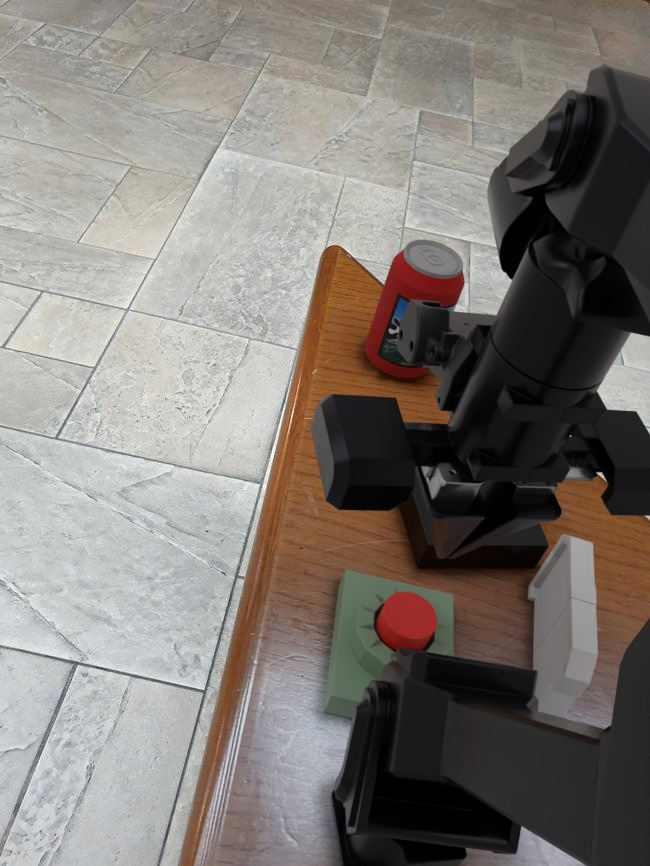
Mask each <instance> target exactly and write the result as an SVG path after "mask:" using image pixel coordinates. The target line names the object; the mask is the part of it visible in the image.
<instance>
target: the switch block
mask: <svg viewBox="0 0 650 866" xmlns="http://www.w3.org/2000/svg"><path fill="white" fill-rule="evenodd" d="M398 592H412V593H415V594H418V595H420V596H422V597H423V598H425V599H426V600H427V601H428V602H429V603H430V604H431V605H432V607H433V608H434V610H435V612H436V615H437V626H436V629H435V631H434V633H433V634H432V636H431V638H430V640H429V641H428V643H427V645H426V646H425V647H424V648H423V649H422V650H420V651H423V652H430V653H436V654H442V655H448V656H454V657H455V594H453V593H448V592H445V591H440V590H436V589H431V588H427V587H423V586H419V585H415V584H410V583H405V582H401V581H397V580H394V579H388V578H384V577H380V576H376V575H372V574H368V573H363V572H359V571H354V570H351V569H345V571H344V573H343V575H342V578H341V580H340V583H339V586H338V588H337V599H336V604H335V605H336V606H335V614H334V622H333V631H332V638H331V646H330V654H329V663H328V670H327V679H326V688H325V694H324V703H323V705H324V706H323V713H326V714H330V715H334V716H339V717H343V718H348V719H351V720H352V719H353V715H354V710H355V707H356V706H357V705H359V704H360V702H361V699H362V695H363V692H364V689H365V687H368V685H369V683H370V681H371V680H379V681H385V680H382V669H383V668H384V666H385V665H386V664H387V663H389V662H390V661H392V660H394V661H396V651H395V650H393V649H391V648H390V647H389V646H387V645H386V644H385V643H384V642H383V640H382V639H381V638H380V636H379V634H378V631H377V619H378V616H379V614H380V612H381V610H382V608H383V606H384V604H385V602H386V600H387V599H388V598H389V597H390V596H391V595H393V594H395V593H398Z"/></svg>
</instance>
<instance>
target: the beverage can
mask: <svg viewBox="0 0 650 866" xmlns="http://www.w3.org/2000/svg"><path fill="white" fill-rule="evenodd" d="M463 268H464V261H463V258H462V257H461V256H460V255H459V253H458V252H457V251H456V250H454V249H453V248H452V247H450V246H448V245H446V244H444V243H442V242H439V241H435V240H431V239H425V238H424V239H414V240H411V241H409V242H408V243H407V244H406V245H405V247H404V248H403V249H402V250H401V251H399V252H398V253H397V254H396V255H395V256H394V257H393V259H392V261H391V264H390V266H389V270H388V272H387V275H386V279H385V281H384V284H383V288H382V290H381V294H380V296H379V300H378V302H377V305H376V309H375V311H374V315H373V318H372V320H371V324H370V327H369V330H368V334H367V337H366V341H365V343H364V353H365V355H366V357H367V358H368V360H369V361H370V363H371V364H372V365H373V366H375V367H376V368H377V369H378V370H380V371H381V372H383V373H385V374H387V375H389V376H392V377H395V378H403V379H414V378H415V379H416V378H419V377H421V376H424V375H425V374H427V373H428V372H429V371H430V369H425V368H424V367H423V366H422V365H412V364H409V363H408V362H407V361H406V359H405V358H404V357H403V356H402V355H401V354H400V353H399V351H398V349H397V337H398V332H399V327H400V323H401V320H402V317H403V315H404V313H405V310H406V308H407V306H408V304H409V301H410V299H415V300H426V301H437V302H439V303H440V304H441V308H446V309H447V310H449V311H455V310H456V307H457V304H458V302H459V299H460V298H461V295H462V293H463V289H464V287H465V281H466V280H465V274H464V269H463Z"/></svg>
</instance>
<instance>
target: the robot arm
mask: <svg viewBox="0 0 650 866" xmlns="http://www.w3.org/2000/svg"><path fill="white" fill-rule="evenodd" d="M486 193H487V195H486V196H487V205H488V206H487V207H488V211H489V215H490V220H491V221H490V222H491V226H492V231H493V236H494V240H495V245H496V251H497V254H498V260H499V265H500V269H501V271H502V272H503V273H505V274H506V276H507V277H508V278H509V279H510V280H511V282H510V284H509V285H508V286H509V287H508V288H507V291H506V293H505V295H504V298H503V300H502V301H501V304H500V306H499V308H498V311H497V313H496V314H489V313H477V312H466V311H465V312H464V311H455V310H454V311H449V310H447V309H446V308H441V304H440V303H439V302H437V301H426V300H415V299H410V301H409V304H408V306H407V308H406V310H405V313H404V315H403V317H402V320H401V323H400V327H399V332H398V337H397V349H398V351H399V353H400V354H401V355H402V356H403V357H404V358H405V359H406V361H407V362H408V363H409V364H412V365H422V366H423V367H424V368H425V369H429V371H430V372H431V373H432V374H433V375H434V376H435V377H436V378H437V380H438V381H439V383H438V386H437V388H436V390H435V393H434V396H433V397H434V398H435V401H436V404H437V407H438V410H439V411H440V412H448V414H449V420H448V422H447V423H437V422H433V423H432V422H415V421H404V418H403V416H402V412H401V409H400V406H399V403H398V399H397V397H393V396H377V395H376V396H373V395H359V394H358V395H356V394H342V393H341V394H339V393H330V394H326V395H325V396H324V397H323V398H322V399H321V400H320V401H319V402H318V403H317V404H316V407H315V410H314V413H313V417H312V420H311V423H310V432H311V437H312V442H313V447H314V451H315V456H316V461H317V466H318V470H319V475H320V481H321V485H322V489H323V494H324V499H325V502H327V503H328V504H329V505H330V506H332V507H334V508H335V509H336V510H338V511H359V512H361V511H363V512H365V511H367V512H369V511H371V512H390V511H393V510H394V509H396V508H398V507H399V506H400V505H402V504H404V503H406V502H408V501H409V498H410V496H411V494H412V492H413V489H414V487H415V473H416V477H417V480H418V483H419V486H420V489H421V493H422V496H423V499H424V502H425V505H426V509H427V511H428V513H429V515H430V516H432V517H433V530H434V547H435V551H436V554H437V557H438V558H445V557H447V558H456V557H458V556H461V555H463V554H465V553H467V552H470V551H472V550H474V549H476V548H479V547H481V546H483V545H485V544H488V543H490V542H492V541H495V540H497V539H500V538H502V537H505V536H507V535H510V534H512V533H515V532H518V531H521V530H523V529H526V528H529V527H531V526H534V525H537V524H539V523H540V524H542V523H554V522H556V521H557V520H559V519H560V517H561V516H562V514H563V512H562V511H563V510H562V507H561V505H560V502H559V501H558V498H557V496H556V494H555V491H556V490H557V489H558V486H559V485H558V484H563V482H564V481H571V482H574V481H575V482H594V481H595V480H596V478H597V477H598V474H597V473H601V474H602V475H603V477H604V479H605V482H606V483H607V487H606V488H605V489H604V491H603V493H601V495H600V499H601V500H602V503H603V504H604V506H605V508H606V510H607V511H608V513H609V514H610V516H634V517H635V516H636V517H638V516H639V517H643V516H644V517H650V432H649V430H648V429H647V427H646V425H645V423H644V422H643V420H642V418H641V417H640V415H639V412H637V410H624V409H622V410H621V409H608V408H607V406H606V405H605V403H604V401H603V399H602V397H601V396H600V394H599V392H598V390H599V388H600V387H601V385H602V383H603V382H604V380H605V379H606V376H607V374H608V373H609V371H610V370H611V368H612V366H613V364H614V363H615V361H616V359H617V358H618V357H619V354H620V352H621V351H622V350H623V347H624V346H625V345H626V342H627V341H628V339H629V337H630V335H631V334H635V335H639V336H644V337H649V338H650V75H647V74H644V73H641V72H636V71H633V70H628V69H625V68H621V67H617V66H613V65H609V64H605V63H602V64H599V65H597V66H595V67H594V68H592V69H590V71H589V73H588V78H587V82H586V88H585V90H584V91H580V90H576V89H567V90H566V91H565V92H564V93H563V94H562V95H561V96H560V97H559V98H558V100H557V101H556V102H555V103H554V105H553V106H552V107H551V109H549V111H548V112H547V114H546V115H545V116H544V118H542V120H538V122H537V124H536V125H535V126H533V128H531V129H530V130H529V131H528V132H527V133H526V134H525V135H523V136H522V137H521V138H520V139H519V140H517V142H516V143H514V144H513V145H512V146H511V147H510V148H509V151H508V155H507V156H506V157H505V158H504V159H503V160H502V161H501V162H500V163H499V164H498V166H496V167H495V168H494V169H493V171H492V173H491V175H490V177H489V181H488V186H487V191H486ZM537 677H538V671H537V670H533V669H530V668H523V667H518V666H515V665H509V664H503V663H499V662H498V663H497V662H491V661H485V660H479V659H473V658H472V659H471V658H467V657H460V656H455V655H454V656H448V655H442V654H436V653H430V652H423V651H417V650H411V649H405V648H399V647H397V650H396V661H394V660H392V661H390V662H389V663H387V664H386V665H385V666H384V668H383V669H382V680H385V681H379V680H371V681H370V683H369V685H368V687H365V689H364V692H363V695H362V699H361V702H360V704H359V705H357V706H356V707H355V710H354V715H353V719H352V718H351V724H350V728H349V734H348V738H347V743H346V747H345V753H344V756H343V760H342V765H341V768H340V770H339V773H338V775H337V777H336V779H335V780H334V789H332V791H331V794H330V796H329V799H330V806H331V813H332V819H333V825H334V831H335V838H336V844H337V849H338V855H339V856H338V857H339V862H340V866H460V864H462V863H463V862H464V861H465V859H466V858H467V857H468V856H467V855H468V852H467V849H469V850H477V851H484V852H485V851H486V852H492V853H493V854H498V855H515V856H516V854H517V853H518V849H519V843H520V838H521V831H522V828H523V829H526V830H527V831H529V832H530V833H532V834H534V835H535V836H537V837H539V838H540V839H541V840H543V841H545V842H546V843H548V844H550V845H551V846H553V847H555V848H556V849H558V850H560V851H561V852H563V853H565V854H566V855H567V856H570V857H572V858H573V859H574V860H576V861H578V862H580V863H581V864H583V865H585V866H650V617H649V618H648V619H647V621H646V622H645V624H643V626H642V627H641V628H640V630H639V631H638V632H637V634H636V635H635V636H634V638H633V639H632V641H631V642H630V643H629V645H628V646H627V647H626V649H625V651H624V653H623V656H622V658H621V660H620V664H619V667H618V673H617V680H616V681H617V683H616V688H615V694H614V695H615V696H614V703H613V708H612V715H611V722H610V725H608V726H607V727H605V728H603V727H599V726H596V725H592V724H588V723H585V722H584V723H583V722H581V721H576V720H574V719H573V720H572V719H568V718H565V717H563V716H562V717H558V716H554V715H550V714H546V713H543V712H539V711H538V702H539V700H538V698H537V697H536V696H535V689H536V683H537Z"/></svg>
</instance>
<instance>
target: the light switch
mask: <svg viewBox="0 0 650 866" xmlns="http://www.w3.org/2000/svg"><path fill="white" fill-rule="evenodd" d="M527 587H528V588H527V600H529V601H531V602H533V603H534V605H533V606H534V607H533V608H534V609H533V612H534V613H533V648H532V649H533V652H532V655H533V656H532V670H537V671H538V677H537V683H536V689H535V696H536V697H537V698H538V700H539V702H538V711H539V712H543V713H546V714H550V715H554V716H558V717H562V718H563V716H564V715H565V714H566V713H567V711H569V710H570V708H571V707H572V706H573V705H574V703H575V702H576V701H577V700H578V699H579V697H581V695H582V694H583V693H584V692H585V690H586V689H587V688H588V687H589V686H590V684H591V681H592V678H593V676H594V675H593V674H594V671H595V667H596V664H597V661H598V657H599V645H598V644H599V643H598V621H597V619H598V618H597V605H598V604H597V586H596V578H595V555H594V542H591V541H589V540H586V539H582V538H580V537H579V538H578V537H575V536H572V535H568V534H565V533H563V534H561V536H560V538H559V539H558V540H557V542H556V544H555V545H554V547H553V549H552V550H551V551H550V553H549V554H548V556H547V557H546V559H545V560H544V562H543V564H542V565H541V566H540V568H539V570H538V571H537V573H536V574H535V576H534V577H533V579H532V580H531V582H530V583H529V585H528V586H527Z"/></svg>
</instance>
